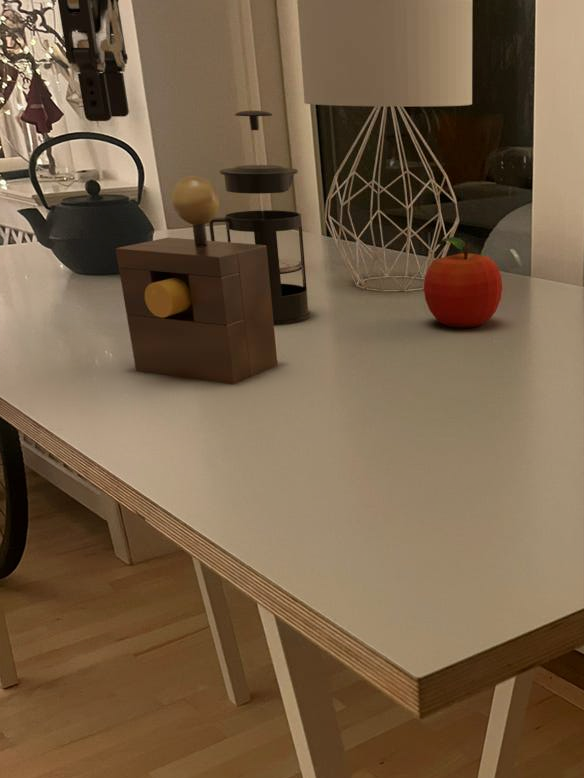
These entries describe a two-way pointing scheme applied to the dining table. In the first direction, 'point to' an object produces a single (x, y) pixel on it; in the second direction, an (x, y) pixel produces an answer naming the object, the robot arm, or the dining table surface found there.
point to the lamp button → (167, 297)
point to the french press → (268, 228)
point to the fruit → (462, 288)
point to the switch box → (200, 299)
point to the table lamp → (387, 85)
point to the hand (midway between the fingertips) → (108, 118)
